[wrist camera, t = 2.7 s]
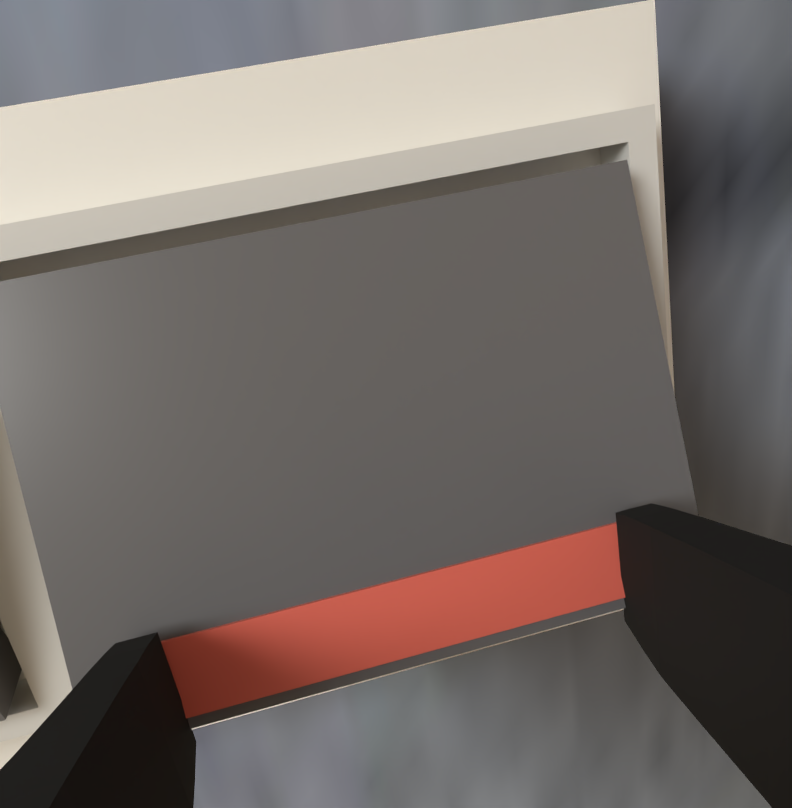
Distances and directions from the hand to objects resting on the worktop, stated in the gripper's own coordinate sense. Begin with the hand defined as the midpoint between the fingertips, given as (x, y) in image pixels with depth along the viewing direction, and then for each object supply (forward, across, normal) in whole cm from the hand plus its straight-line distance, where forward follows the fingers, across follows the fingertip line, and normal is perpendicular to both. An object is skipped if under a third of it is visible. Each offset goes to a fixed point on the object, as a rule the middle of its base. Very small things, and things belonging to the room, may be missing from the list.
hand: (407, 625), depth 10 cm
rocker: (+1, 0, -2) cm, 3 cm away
